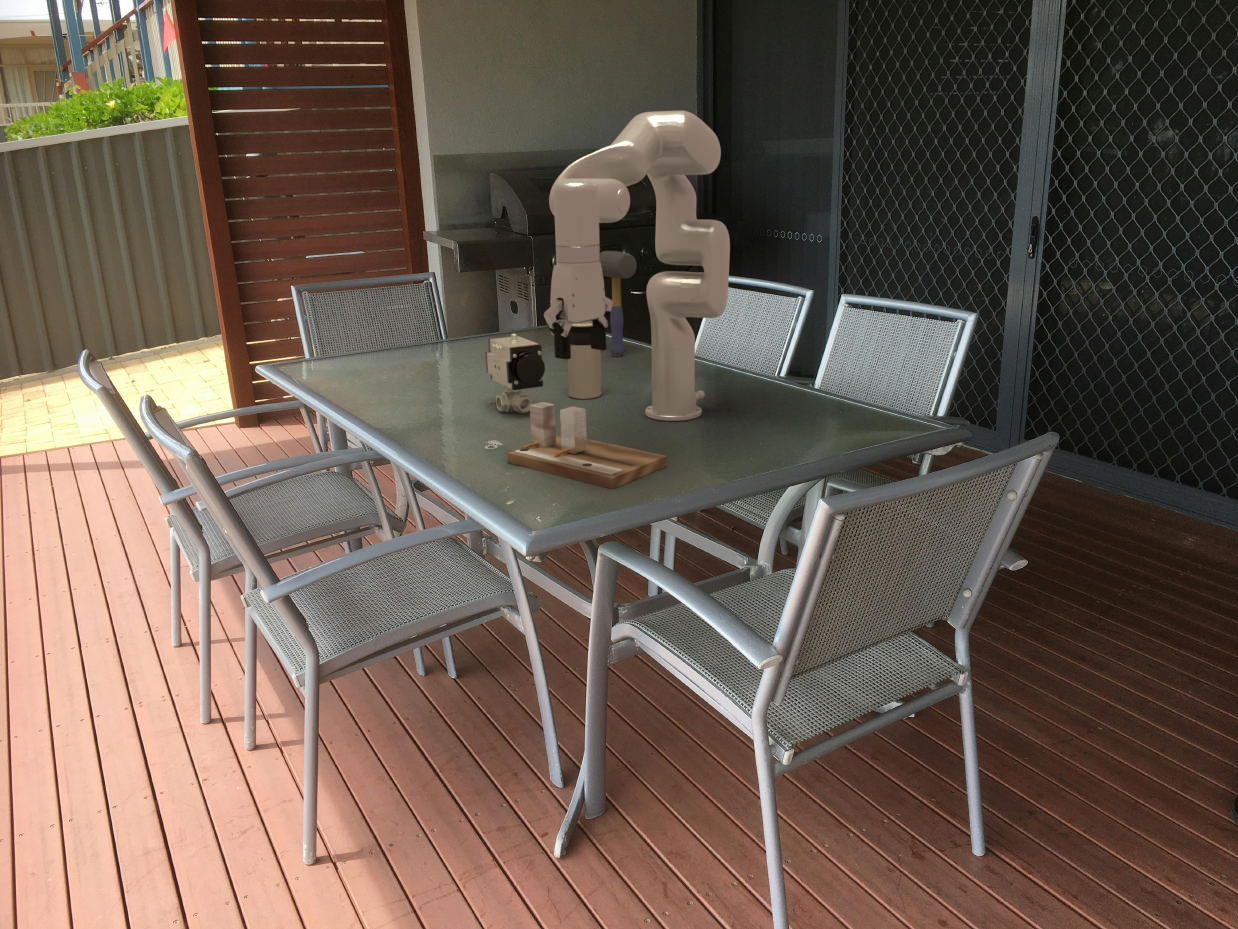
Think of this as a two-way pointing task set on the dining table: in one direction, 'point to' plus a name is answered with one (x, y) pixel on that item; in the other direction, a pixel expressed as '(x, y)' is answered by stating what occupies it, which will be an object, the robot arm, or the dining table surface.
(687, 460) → the dining table surface
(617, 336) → the rubber mallet
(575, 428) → the sliding block with pointer
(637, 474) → the rule board
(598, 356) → the travel mug
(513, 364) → the ball valve
